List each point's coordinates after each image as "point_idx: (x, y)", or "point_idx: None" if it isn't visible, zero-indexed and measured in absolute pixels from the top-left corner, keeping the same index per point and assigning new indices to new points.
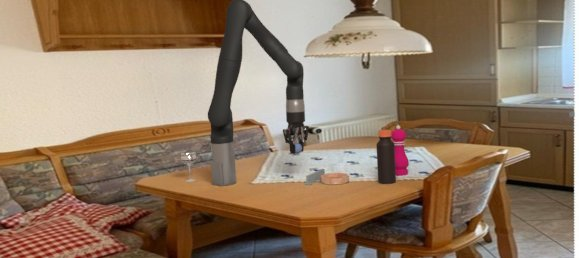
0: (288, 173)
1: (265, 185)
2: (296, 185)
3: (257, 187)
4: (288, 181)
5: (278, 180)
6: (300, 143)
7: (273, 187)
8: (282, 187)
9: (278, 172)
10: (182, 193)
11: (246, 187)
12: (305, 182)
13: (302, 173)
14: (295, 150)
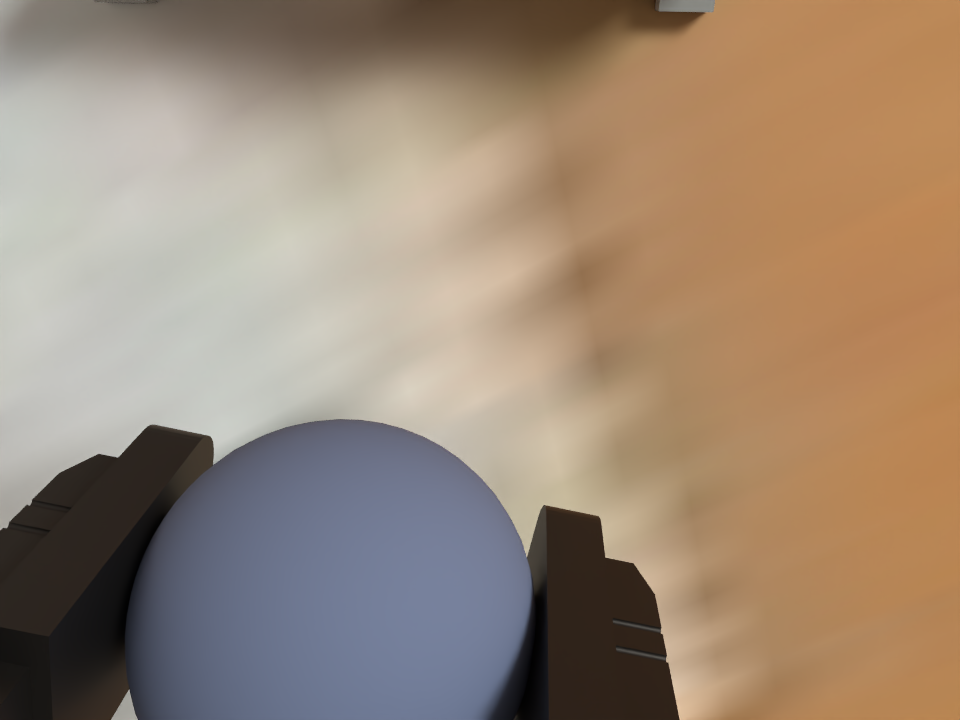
0: None
1: (828, 535)
2: (790, 112)
3: (948, 572)
4: (548, 366)
5: (521, 515)
6: (70, 684)
7: (945, 388)
8: (943, 264)
9: (126, 697)
10: None
11: (950, 678)
12: (674, 3)
13: (32, 416)
14: (522, 556)
